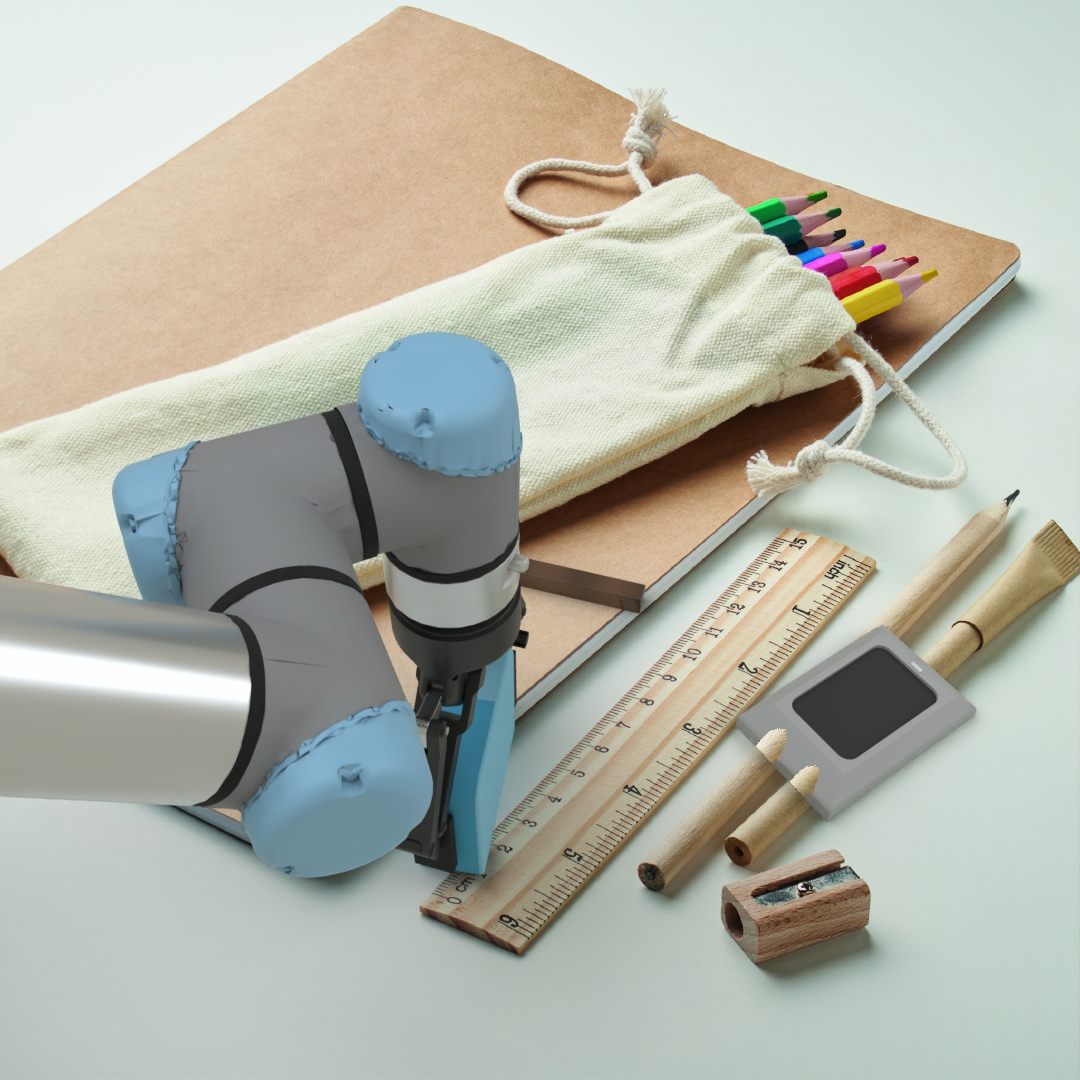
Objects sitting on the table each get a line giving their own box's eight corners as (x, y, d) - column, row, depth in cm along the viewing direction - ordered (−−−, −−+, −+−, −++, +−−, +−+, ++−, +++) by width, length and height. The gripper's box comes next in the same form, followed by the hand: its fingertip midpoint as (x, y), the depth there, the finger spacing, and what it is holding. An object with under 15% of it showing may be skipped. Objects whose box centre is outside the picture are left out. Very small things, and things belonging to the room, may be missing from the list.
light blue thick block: (456, 726, 90) (447, 628, 81) (515, 735, 90) (514, 637, 81) (419, 874, 82) (405, 784, 73) (484, 884, 82) (478, 795, 73)
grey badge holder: (739, 707, 87) (886, 612, 93) (733, 734, 90) (876, 641, 96) (833, 804, 82) (982, 698, 88) (823, 830, 85) (968, 725, 90)
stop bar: (518, 595, 98) (518, 571, 96) (524, 581, 100) (524, 557, 97) (638, 623, 97) (641, 599, 94) (643, 608, 98) (645, 584, 95)
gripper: (443, 784, 59) (462, 961, 75) (576, 448, 75) (568, 654, 91) (302, 746, 60) (349, 927, 76) (461, 424, 76) (473, 631, 92)
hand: (468, 779), depth 84 cm, fingers closed on light blue thick block, 12 cm apart
